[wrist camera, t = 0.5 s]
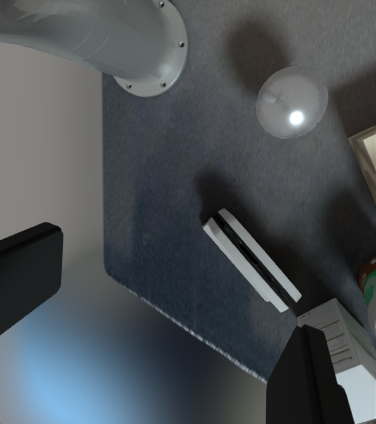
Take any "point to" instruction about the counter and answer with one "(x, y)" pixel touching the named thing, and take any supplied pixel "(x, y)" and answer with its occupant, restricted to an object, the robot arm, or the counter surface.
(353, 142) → the block
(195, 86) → the counter surface
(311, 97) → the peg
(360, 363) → the supplement box
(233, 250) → the white curved block
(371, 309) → the food container
